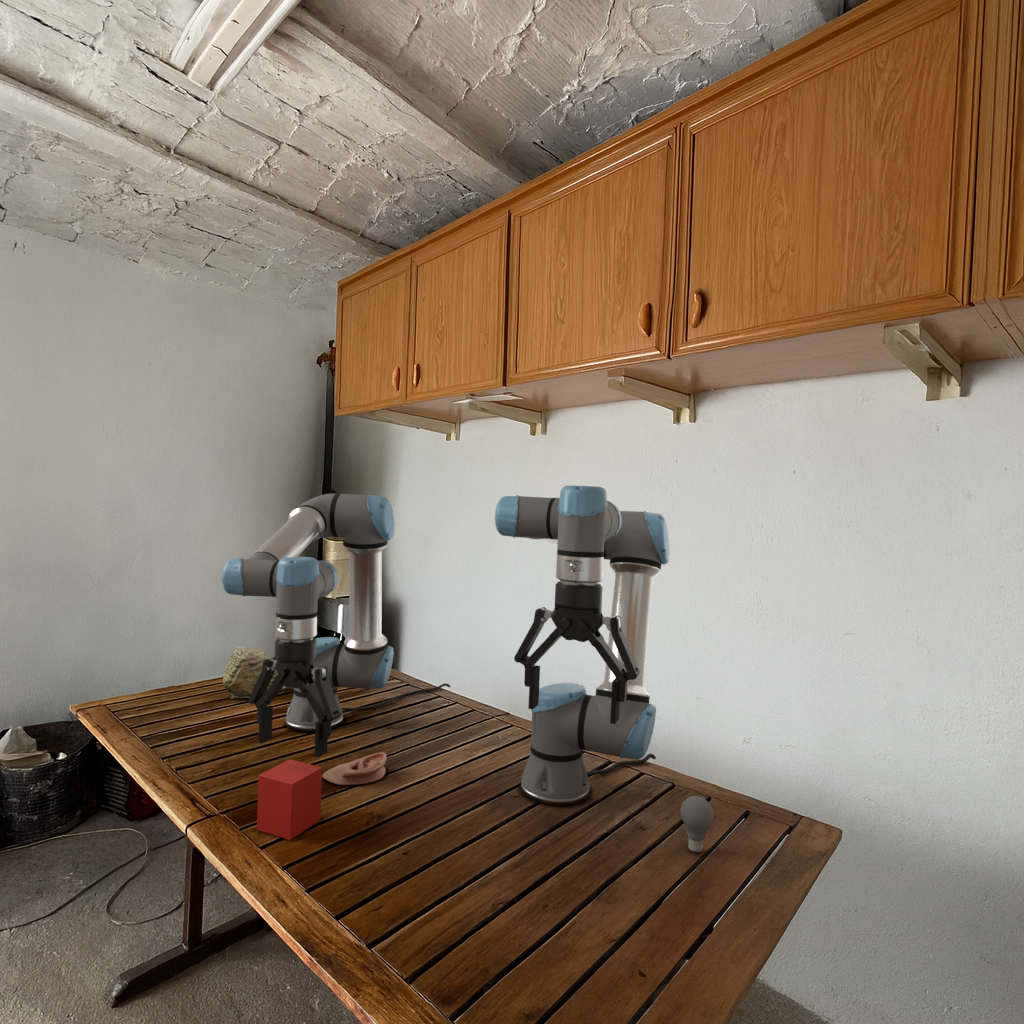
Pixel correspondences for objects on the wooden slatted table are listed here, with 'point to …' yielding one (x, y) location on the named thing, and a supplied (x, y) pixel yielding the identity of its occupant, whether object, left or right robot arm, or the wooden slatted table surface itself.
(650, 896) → the wooden slatted table surface
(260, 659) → the fossil
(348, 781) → the anatomical model
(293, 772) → the brick
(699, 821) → the light bulb
